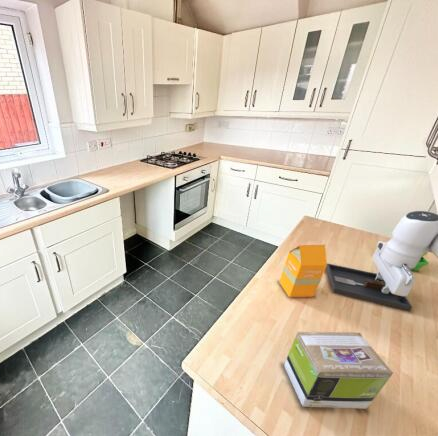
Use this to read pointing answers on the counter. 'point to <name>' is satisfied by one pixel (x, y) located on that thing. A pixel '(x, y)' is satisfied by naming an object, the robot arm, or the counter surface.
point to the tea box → (335, 370)
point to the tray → (361, 291)
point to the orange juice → (303, 270)
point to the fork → (367, 284)
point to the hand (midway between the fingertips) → (381, 286)
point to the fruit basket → (420, 263)
